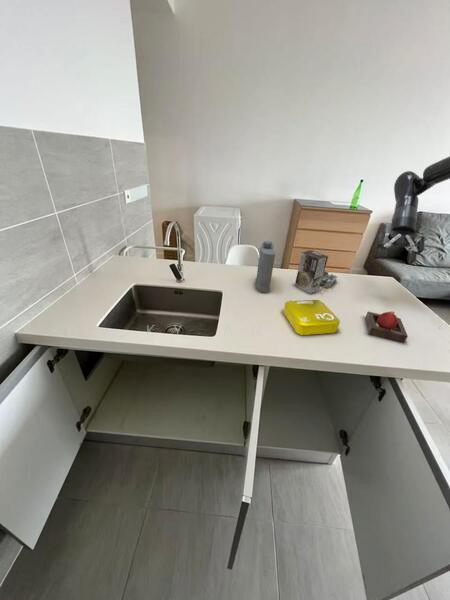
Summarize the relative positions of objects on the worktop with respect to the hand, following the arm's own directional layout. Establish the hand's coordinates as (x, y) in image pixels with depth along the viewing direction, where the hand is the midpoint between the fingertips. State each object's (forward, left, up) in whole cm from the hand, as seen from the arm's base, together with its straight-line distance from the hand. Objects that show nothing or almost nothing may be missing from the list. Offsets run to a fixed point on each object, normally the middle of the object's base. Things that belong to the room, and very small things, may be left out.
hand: (397, 260), depth 88 cm
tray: (0, +16, -20) cm, 26 cm away
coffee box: (+28, -4, -20) cm, 35 cm away
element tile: (+25, +22, -20) cm, 39 cm away
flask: (+47, +2, -20) cm, 51 cm away
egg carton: (+20, -14, -20) cm, 32 cm away
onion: (0, +16, -20) cm, 26 cm away
